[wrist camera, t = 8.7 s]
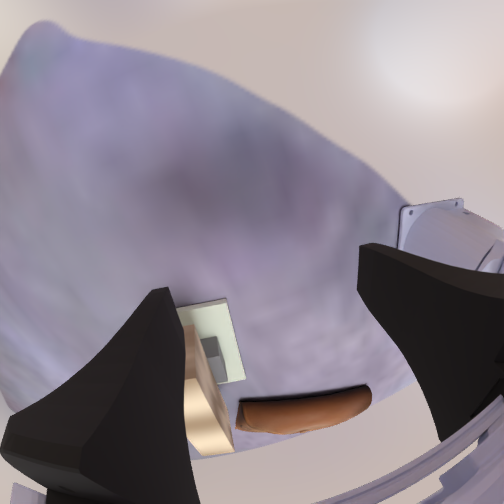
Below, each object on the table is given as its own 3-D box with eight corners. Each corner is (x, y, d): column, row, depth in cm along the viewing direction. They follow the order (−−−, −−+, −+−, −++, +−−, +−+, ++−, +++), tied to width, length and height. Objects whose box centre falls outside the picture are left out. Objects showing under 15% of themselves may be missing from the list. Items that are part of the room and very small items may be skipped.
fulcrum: (225, 298, 22) (230, 321, 19) (245, 374, 26) (250, 397, 23) (133, 315, 21) (127, 339, 18) (171, 386, 25) (170, 409, 23)
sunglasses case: (231, 431, 31) (241, 457, 25) (232, 387, 32) (243, 409, 26) (345, 415, 35) (369, 432, 29) (351, 376, 36) (378, 388, 30)
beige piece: (227, 409, 24) (234, 451, 19) (198, 414, 24) (202, 455, 19) (194, 324, 19) (195, 378, 14) (154, 330, 18) (147, 384, 14)
